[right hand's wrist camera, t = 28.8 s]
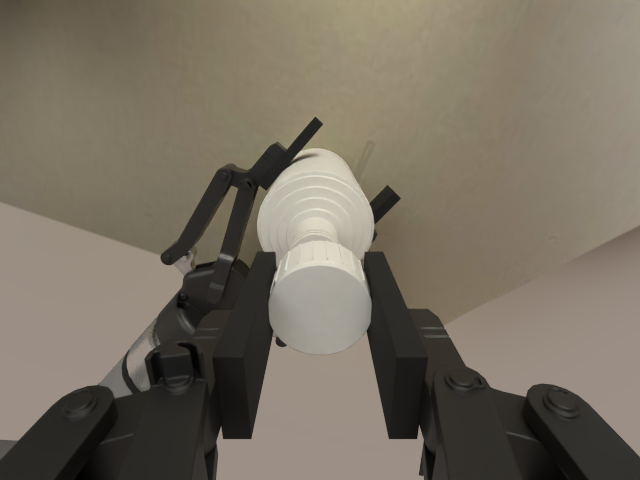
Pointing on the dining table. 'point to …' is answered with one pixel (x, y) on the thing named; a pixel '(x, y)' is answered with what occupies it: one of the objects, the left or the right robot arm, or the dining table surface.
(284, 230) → the bottle
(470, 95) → the dining table surface
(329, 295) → the cap
